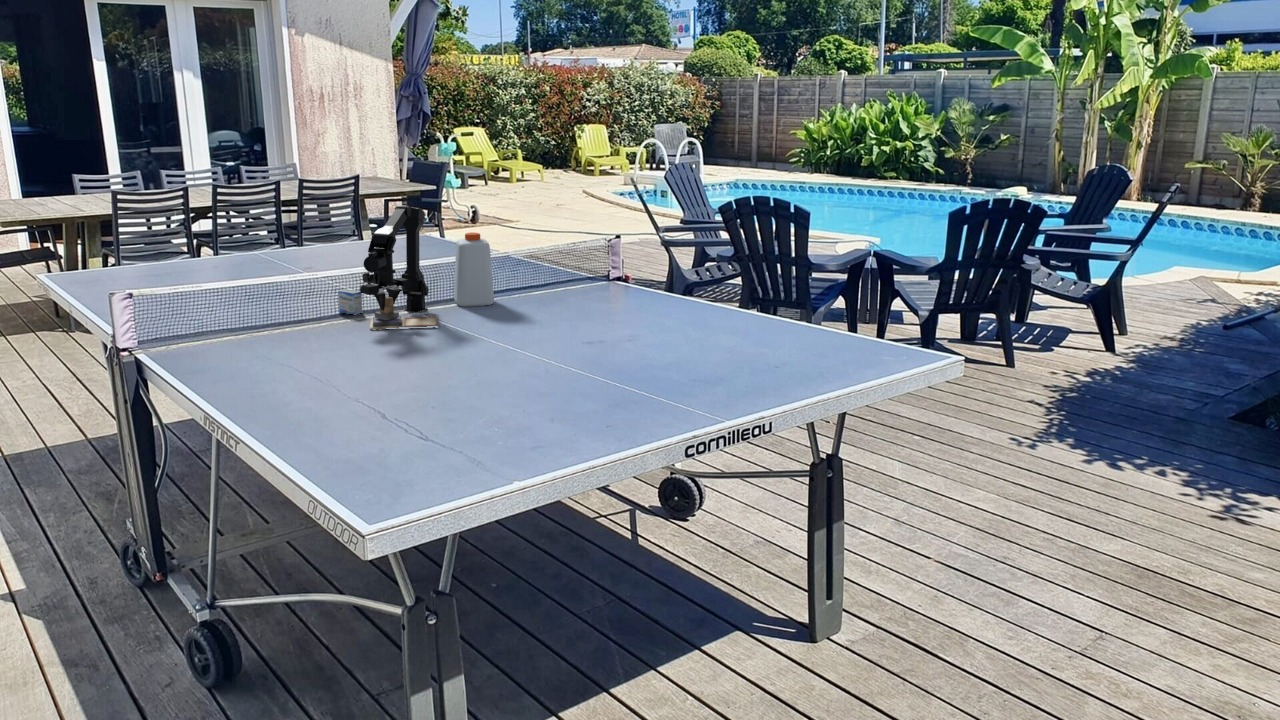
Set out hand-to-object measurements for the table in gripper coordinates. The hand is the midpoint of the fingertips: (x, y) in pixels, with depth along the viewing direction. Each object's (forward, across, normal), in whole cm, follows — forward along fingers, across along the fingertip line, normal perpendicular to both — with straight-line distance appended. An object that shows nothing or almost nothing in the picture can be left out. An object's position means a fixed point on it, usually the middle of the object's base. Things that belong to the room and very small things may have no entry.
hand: (386, 309), depth 365 cm
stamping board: (+6, -4, +4) cm, 8 cm away
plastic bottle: (+6, -46, -3) cm, 47 cm away
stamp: (+3, 0, 0) cm, 3 cm away
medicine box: (+6, -3, -24) cm, 25 cm away
